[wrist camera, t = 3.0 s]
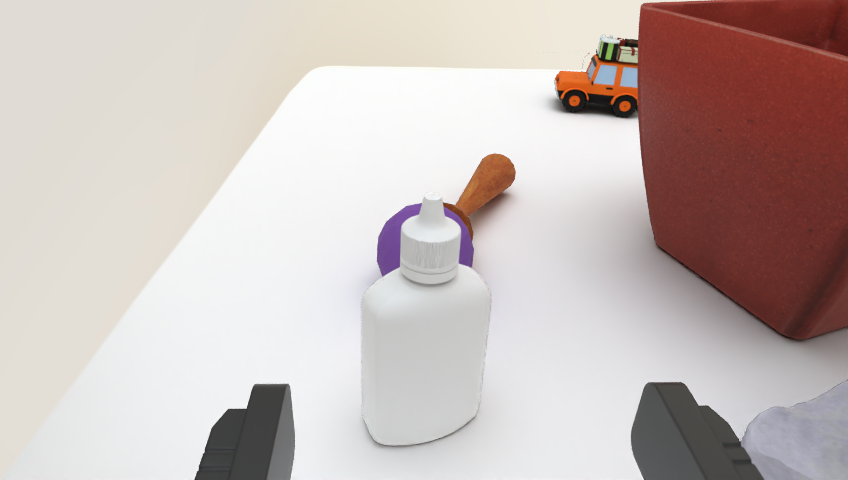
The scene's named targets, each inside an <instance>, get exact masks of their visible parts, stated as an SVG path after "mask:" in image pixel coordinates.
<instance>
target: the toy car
mask: <svg viewBox="0 0 848 480" xmlns="http://www.w3.org/2000/svg"><path fill="white" fill-rule="evenodd" d="M619 39H621V38H619ZM619 39H618V38H617V39H616V38H613V36H612V35H610V37H606V35H605V34H603V35H602V36H601V38H600V42H599V47H598V51H596V53H597V54H596V55H594V56H593V57H592V58H591V62H590V65H589V67H588V69H587V71H586V72H571V71H560V72H559V74H557V76H556V78H555V80H554V84H555V90H556V94H557V97H559V99H563V100H562V101H563V105H564V107H565V108H566V109H567V110H569V111H570V112H572V111H574V112H576V111H579V110H581V109H582V108H583V107H584V105H585V104H586V102H587V103H595V104H605V105H612V106H613V107H612V108H613V111H614V113H615V114H617V116H621V117H628V116H629V115H632V113H633V112H635V109H636V110H637V112H638V88H637V69H638V40H633V39H625V40H624V39H622V40H619ZM588 54H589V53H588ZM588 54H587V55H588Z"/></svg>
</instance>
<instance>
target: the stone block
mask: <svg viewBox="0 0 848 480" xmlns="http://www.w3.org/2000/svg"><path fill="white" fill-rule="evenodd" d="M741 447H744V449H745V450H746V452H747V453H748V455H749V456H750V458H751V459H752V464H755V466H756V467H757V469H758V470H759V472H760V473H761V475H762V477H763V478H764V480H848V380H846V381H844V382H842V383H840V384H838V385H837V386H835V387H834V388H832V389H831V390H829V391H828V392H826V393H824V394H822V395H821V396H819V397H817V398H815V399H813V400H811V401H808V402H804V403H799V404H796V405H794V406H792V407H790V408H785V407H772V408H770V409H768V410H766V411H764V412H762V413H760V414H759V415H758V416H757V417H756V418H755V419H754V420H753V421H752V422H751V423H750V424H749V425H748V427H747V429H746V432H745V435H744V437H743V438H742V440H741Z"/></svg>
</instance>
